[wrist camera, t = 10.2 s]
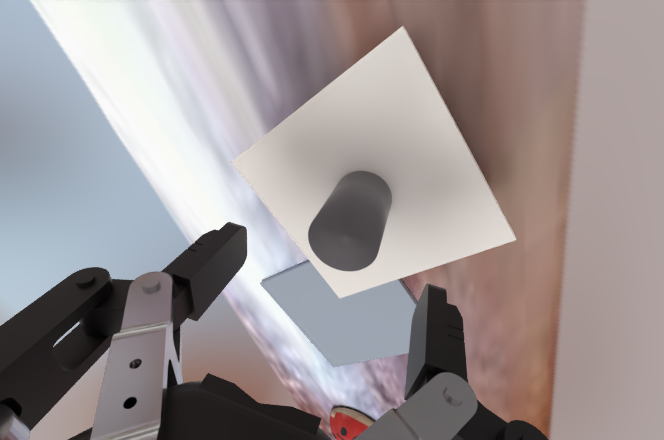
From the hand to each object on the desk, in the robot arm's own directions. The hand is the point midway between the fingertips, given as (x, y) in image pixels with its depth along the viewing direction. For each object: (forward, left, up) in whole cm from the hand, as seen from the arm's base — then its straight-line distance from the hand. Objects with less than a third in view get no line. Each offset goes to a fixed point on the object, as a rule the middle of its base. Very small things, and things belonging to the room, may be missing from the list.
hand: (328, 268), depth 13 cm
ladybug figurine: (+34, -24, -15) cm, 44 cm away
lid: (0, 0, -8) cm, 8 cm away
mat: (+13, -12, -14) cm, 23 cm away
